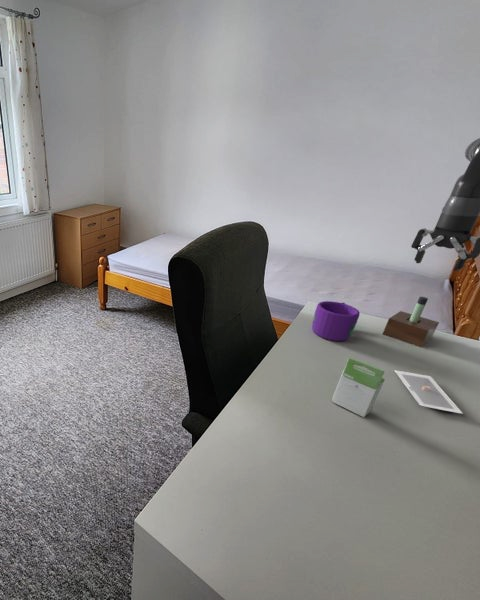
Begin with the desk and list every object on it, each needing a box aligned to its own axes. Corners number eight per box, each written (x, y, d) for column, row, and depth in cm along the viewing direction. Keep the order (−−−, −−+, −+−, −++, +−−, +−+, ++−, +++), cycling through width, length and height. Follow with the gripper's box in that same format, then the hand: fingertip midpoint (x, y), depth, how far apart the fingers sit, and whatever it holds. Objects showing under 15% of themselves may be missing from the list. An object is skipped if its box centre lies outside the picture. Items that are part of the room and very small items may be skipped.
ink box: (370, 411, 81) (391, 365, 76) (364, 418, 79) (384, 371, 74) (337, 395, 86) (354, 351, 81) (330, 401, 84) (347, 357, 79)
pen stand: (394, 326, 118) (400, 310, 116) (431, 338, 111) (439, 322, 108) (382, 334, 114) (388, 318, 111) (420, 347, 106) (428, 330, 103)
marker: (403, 334, 113) (420, 296, 108) (411, 336, 112) (429, 298, 106) (401, 335, 112) (418, 297, 107) (409, 338, 111) (426, 299, 105)
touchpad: (428, 379, 92) (432, 372, 91) (461, 417, 79) (465, 410, 78) (392, 373, 94) (395, 366, 93) (418, 409, 82) (422, 402, 81)
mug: (346, 347, 106) (356, 319, 102) (305, 334, 114) (313, 308, 110) (357, 328, 117) (366, 302, 113) (319, 317, 125) (326, 292, 121)
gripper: (500, 215, 93) (473, 270, 100) (431, 207, 104) (411, 258, 111) (493, 218, 89) (465, 275, 96) (422, 210, 100) (401, 262, 107)
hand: (436, 266), depth 103 cm, fingers open, 8 cm apart
